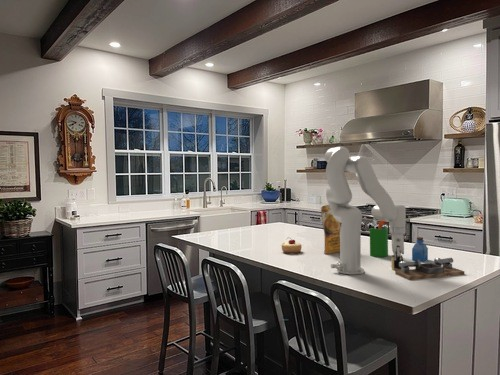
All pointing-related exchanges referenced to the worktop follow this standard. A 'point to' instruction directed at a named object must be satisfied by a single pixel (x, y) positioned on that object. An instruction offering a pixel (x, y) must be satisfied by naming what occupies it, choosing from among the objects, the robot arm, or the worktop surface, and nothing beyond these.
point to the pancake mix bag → (330, 230)
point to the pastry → (291, 247)
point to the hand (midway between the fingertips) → (397, 266)
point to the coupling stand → (429, 272)
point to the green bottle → (379, 241)
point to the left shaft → (409, 265)
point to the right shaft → (444, 262)
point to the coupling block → (393, 261)
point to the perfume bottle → (420, 250)
